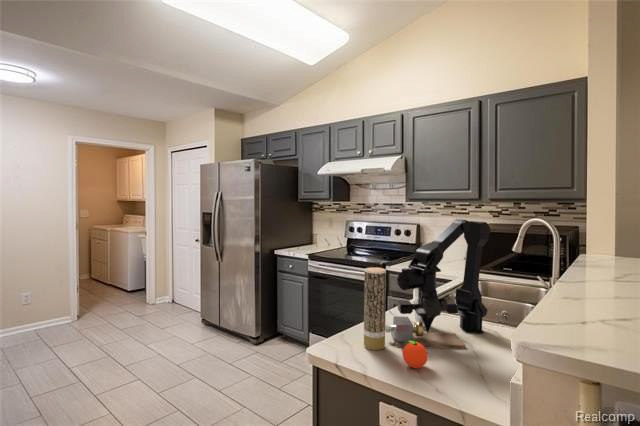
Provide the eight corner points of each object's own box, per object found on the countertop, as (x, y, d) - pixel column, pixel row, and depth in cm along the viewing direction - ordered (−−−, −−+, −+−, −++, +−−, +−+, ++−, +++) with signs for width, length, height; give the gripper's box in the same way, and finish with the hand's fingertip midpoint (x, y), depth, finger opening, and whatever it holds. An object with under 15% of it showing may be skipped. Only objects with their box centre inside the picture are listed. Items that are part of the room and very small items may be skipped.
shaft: (420, 333, 119) (420, 320, 118) (423, 338, 114) (423, 325, 114) (384, 332, 119) (384, 319, 119) (386, 338, 114) (386, 324, 114)
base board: (454, 335, 121) (454, 333, 121) (465, 348, 111) (465, 345, 111) (391, 334, 122) (391, 331, 122) (396, 346, 112) (396, 343, 112)
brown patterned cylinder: (389, 346, 112) (390, 269, 111) (377, 353, 107) (378, 273, 106) (371, 340, 117) (372, 266, 116) (359, 346, 112) (360, 269, 111)
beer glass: (433, 330, 126) (433, 289, 125) (413, 328, 127) (414, 288, 127) (430, 323, 133) (431, 284, 132) (412, 321, 134) (412, 283, 133)
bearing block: (407, 333, 120) (407, 316, 120) (412, 342, 112) (413, 325, 112) (393, 332, 121) (393, 316, 120) (397, 342, 113) (397, 324, 112)
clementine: (394, 362, 101) (395, 338, 101) (412, 357, 104) (412, 334, 104) (414, 375, 94) (415, 349, 94) (432, 369, 97) (433, 344, 97)
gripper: (403, 292, 108) (404, 342, 108) (464, 292, 107) (464, 342, 108) (397, 284, 119) (397, 328, 119) (452, 283, 118) (452, 328, 119)
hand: (427, 332), depth 116 cm, fingers closed
